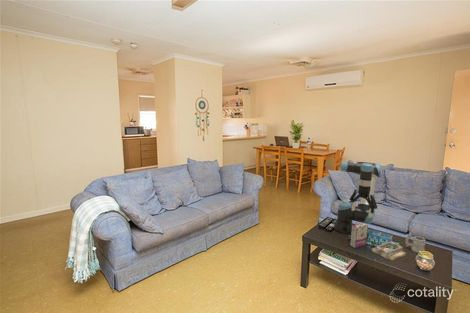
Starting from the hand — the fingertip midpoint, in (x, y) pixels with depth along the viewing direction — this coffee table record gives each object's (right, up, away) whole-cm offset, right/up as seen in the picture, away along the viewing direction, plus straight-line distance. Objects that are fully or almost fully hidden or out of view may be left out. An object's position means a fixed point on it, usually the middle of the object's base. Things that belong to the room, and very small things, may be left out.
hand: (361, 213), depth 177 cm
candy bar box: (-1, -25, +4) cm, 25 cm away
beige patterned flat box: (+17, -27, -4) cm, 32 cm away
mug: (+38, -27, 0) cm, 46 cm away
